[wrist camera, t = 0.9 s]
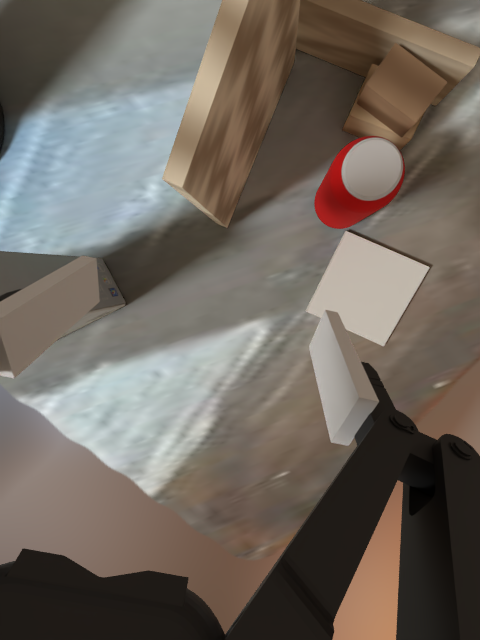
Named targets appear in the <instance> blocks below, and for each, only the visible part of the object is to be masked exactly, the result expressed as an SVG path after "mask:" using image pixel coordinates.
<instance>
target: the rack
mask: <svg viewBox="0 0 480 640" xmlns="http://www.w3.org/2000/svg"><path fill="white" fill-rule="evenodd" d="M395 43H397V44H398V45H400V46H401V47H402V48H404V49H405V50H406V51H408V52H409V53H410V54H411V55H413V56H414V57H415V58H417V59H418V60H419V61H421V62H422V63H423V64H425V65H426V66H427V67H428V68H430V69H431V70H432V71H434V72H435V73H436V74H438V75H439V76H440V77H442V78H443V79H444V80H445V81H447V84H446V85H445V86H444V87H443V89H442V90H441V91H440V93H439V94H438V95H437V96H436V98H435V99H434V100H433V101H432V103H431V104H432V105H434V106H436V105H437V104H438V103H439V102H440V101H441V100H442V99H443V98H444V97H445V96H446V95H447V94H448V93H449V92H450V91H451V90H452V89H453V88H454V87H455V86H456V85H457V84H458V83H459V82H460V81H461V80H462V79H463V78H464V77H465V76H466V75H467V74H468V73H469V72H470V71H471V70H472V69H473V68H474V66H475V64H476V62H477V60H478V58H479V56H480V48H479V47H476V46H474V45H471V44H469V43H466V42H464V41H461V40H459V39H456V38H454V37H451V36H449V35H446V34H444V33H441V32H439V31H436V30H434V29H431V28H429V27H426V26H424V25H421V24H418V23H416V22H413V21H411V20H408V19H406V18H403V17H401V16H398V15H396V14H393V13H391V12H388V11H386V10H383V9H381V8H378V7H376V6H373V5H371V4H368V3H366V2H363V1H361V0H222V3H221V6H220V9H219V12H218V15H217V18H216V21H215V24H214V27H213V30H212V33H211V36H210V39H209V41H208V44H207V47H206V50H205V53H204V56H203V59H202V62H201V65H200V68H199V71H198V74H197V77H196V80H195V83H194V86H193V89H192V92H191V95H190V98H189V101H188V104H187V107H186V110H185V113H184V115H183V118H182V121H181V124H180V127H179V130H178V133H177V136H176V139H175V142H174V145H173V148H172V151H171V154H170V157H169V160H168V163H167V166H166V169H165V172H164V175H163V178H162V179H163V180H164V181H165V182H167V183H168V184H169V185H170V186H172V187H173V188H174V189H175V190H176V191H178V192H179V193H180V194H181V195H183V196H184V197H185V198H186V199H187V200H189V201H190V202H191V203H192V204H194V205H195V206H196V207H197V208H198V209H200V210H201V211H202V212H203V213H205V214H206V215H207V216H208V217H210V218H211V219H212V220H213V221H214V222H216V223H217V224H219V225H221V226H224V227H226V228H228V225H229V223H230V220H231V218H232V215H233V213H234V210H235V208H236V205H237V203H238V201H239V198H240V196H241V193H242V191H243V188H244V186H245V183H246V181H247V178H248V176H249V173H250V171H251V168H252V166H253V163H254V161H255V158H256V156H257V153H258V151H259V148H260V146H261V144H262V141H263V139H264V136H265V134H266V131H267V129H268V126H269V124H270V121H271V119H272V116H273V114H274V111H275V109H276V106H277V104H278V101H279V99H280V96H281V94H282V91H283V89H284V87H285V84H286V82H287V79H288V77H289V74H290V72H291V69H292V67H293V64H294V61H295V51H296V49H298V50H300V51H303V52H305V53H307V54H310V55H312V56H315V57H317V58H320V59H322V60H325V61H327V62H329V63H332V64H334V65H337V66H339V67H342V68H344V69H346V70H349V71H351V72H354V73H356V74H359V75H361V76H364V77H366V76H367V74H368V72H369V69H370V67H371V65H372V64H375V65H377V66H379V65H380V64H381V62H382V61H383V60H384V58H385V57H386V55H387V54H388V53H389V51H390V50H391V48H392V47H393V46H394V44H395Z"/></svg>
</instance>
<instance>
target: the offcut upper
mask: <svg viewBox="0 0 480 640" xmlns="http://www.w3.org/2000/svg"><path fill="white" fill-rule="evenodd" d="M446 84H447V81H445V80H444V79H443V78H442V77H440V76H439V75H438V74H436V73H435V72H434V71H432V70H431V69H430V68H428V67H427V66H426V65H425V64H423V63H422V62H421V61H419V60H418V59H417V58H415V57H414V56H413V55H411V54H410V53H409V52H408V51H406V50H405V49H404V48H402V47H401V46H400V45H398V44H397V43H395V44H394V46H393V47H392V48H391V50H390V51H389V53H388V54H387V55H386V57H385V58H384V60H383V61H382V62H381V64H380V65H379V67H378V68H377V69H376V71H375V72H374V74H373V75H372V76H371V78H370V79H369V81H368V82H367V83H366V85H365V87H364V89H363V91H362V93H361V95H360V97H359V99H358V101H357V104H358V105H359V106H361V107H362V108H363V109H365V110H366V111H367V112H369V113H370V114H371V115H372V116H374V117H375V118H376V119H378V120H379V121H380V122H382V123H383V124H384V125H386V126H387V127H388V128H389V129H391V130H392V131H393V132H395V133H396V134H397V135H399V136H400V137H401V138H402V137H403V136H404V135H405V134H406V133H407V132H408V131H409V130H410V128H411V127H412V126H413V125H414V124H415V123H416V122H417V121H418V119H419V118H420V117H421V116H422V114H423V113H424V112H425V110H426V109H427V108H428V107H429V105H430V104H431V103H432V101H433V100H434V99H435V98H436V96H437V95H438V94H439V93H440V91H441V90H442V89H443V87H444V86H445V85H446Z"/></svg>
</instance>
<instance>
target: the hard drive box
mask: <svg viewBox="0 0 480 640" xmlns="http://www.w3.org/2000/svg"><path fill="white" fill-rule="evenodd" d="M77 258H79V257H78V256H63V255H48V254H33V253H19V252H4V251H0V296H1V295H3V294H5V293H8V292H11V291H15V290H18V289H24V288H26V287H27V286H29V285H31V284H33V283H34V282H36V281H38V280H40V279H42V278H43V277H45V276H47V275H49V274H51V273H52V272H54V271H56V270H58V269H59V268H61V267H63V266H65V265H67V264H68V263H70V262H72V261H74V260H76V259H77ZM96 259H97V272H98V285H99V299H100V302H99V303H98V304H97V305H95V306H94V307H93V308H92V309H91V310H90V311H89V312H88V313H87V314H85V315H84V316H83V317H82V318H81V319H80V320H79V321H78V322H77V323H75V324H74V325H73V326H72V327H71V328H70V329H69V330H68V331H66V332H65V333H64V334H63V335H62V336H61V337H60V338H62V337H64V336H66V335H67V334H69V333H71V332H73V331H75V330H77V329H80V328H82V327H84V326H86V325H88V324H89V323H91V322H94V321H96V320H98V319H100V318H102V317H104V316H106V315H108V314H110V313H112V312H113V311H115V310H118V309H120V308H121V307H123V306H125V303H126V302H125V300H124V298H123V296H122V294H121V293H120V291H119V289H118V287H117V285H116V283H115V281H114V279H113V278H112V276H111V274H110V272H109V270H108V268H107V266H106V264H105V263H104V261H103V259H102V258H96Z"/></svg>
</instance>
